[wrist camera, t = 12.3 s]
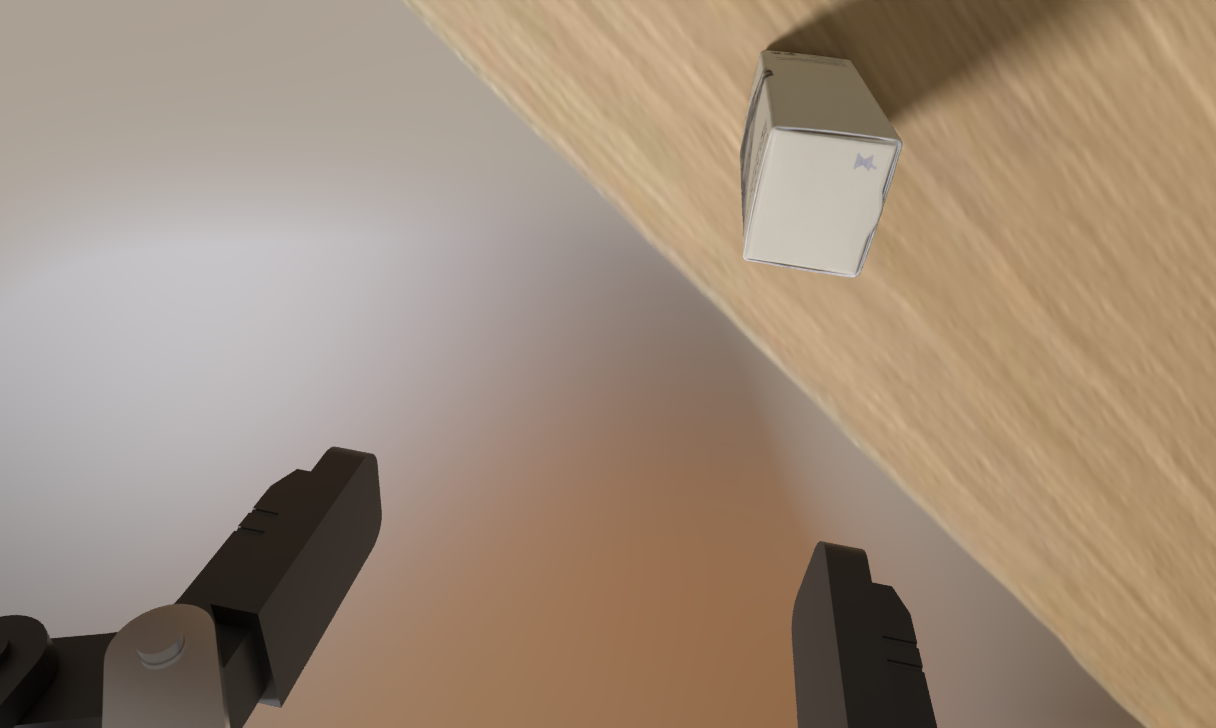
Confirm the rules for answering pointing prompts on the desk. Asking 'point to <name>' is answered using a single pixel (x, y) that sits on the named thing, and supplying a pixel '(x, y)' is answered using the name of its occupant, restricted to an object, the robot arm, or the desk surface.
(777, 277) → the desk surface
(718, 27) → the desk surface
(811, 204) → the box
